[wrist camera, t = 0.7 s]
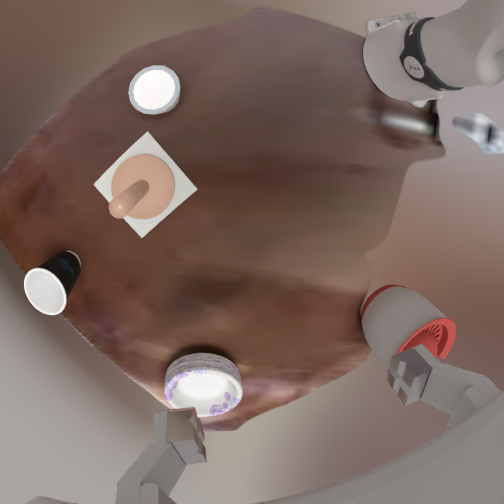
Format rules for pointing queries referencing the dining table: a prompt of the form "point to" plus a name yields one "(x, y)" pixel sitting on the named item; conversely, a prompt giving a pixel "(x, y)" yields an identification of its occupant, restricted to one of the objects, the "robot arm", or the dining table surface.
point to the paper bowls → (203, 384)
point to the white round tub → (154, 90)
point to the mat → (181, 180)
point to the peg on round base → (141, 187)
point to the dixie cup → (52, 282)
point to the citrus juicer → (404, 324)
